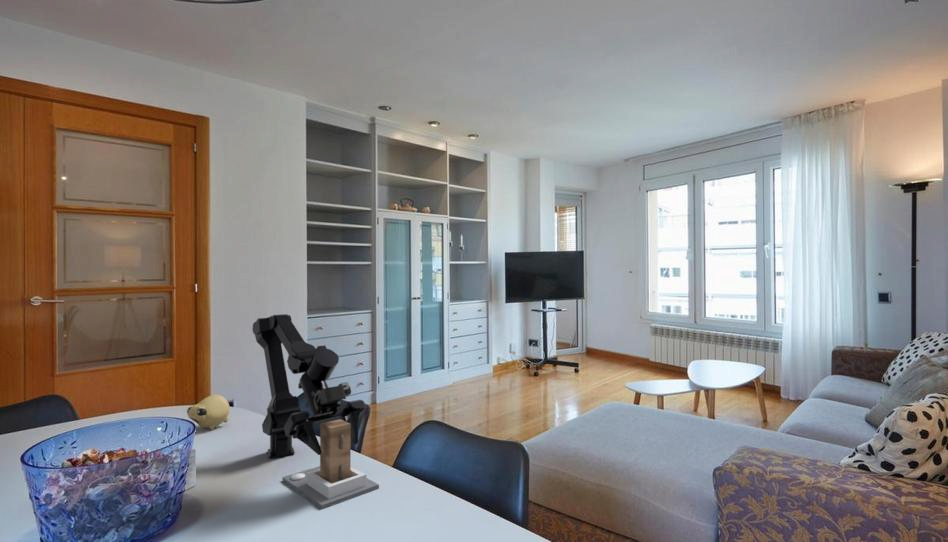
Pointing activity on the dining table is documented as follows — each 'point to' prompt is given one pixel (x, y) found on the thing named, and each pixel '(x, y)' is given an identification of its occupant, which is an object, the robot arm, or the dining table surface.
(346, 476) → the tan tall block
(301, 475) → the grey insertion base
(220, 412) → the toy pig
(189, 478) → the medicine box
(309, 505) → the dining table surface
